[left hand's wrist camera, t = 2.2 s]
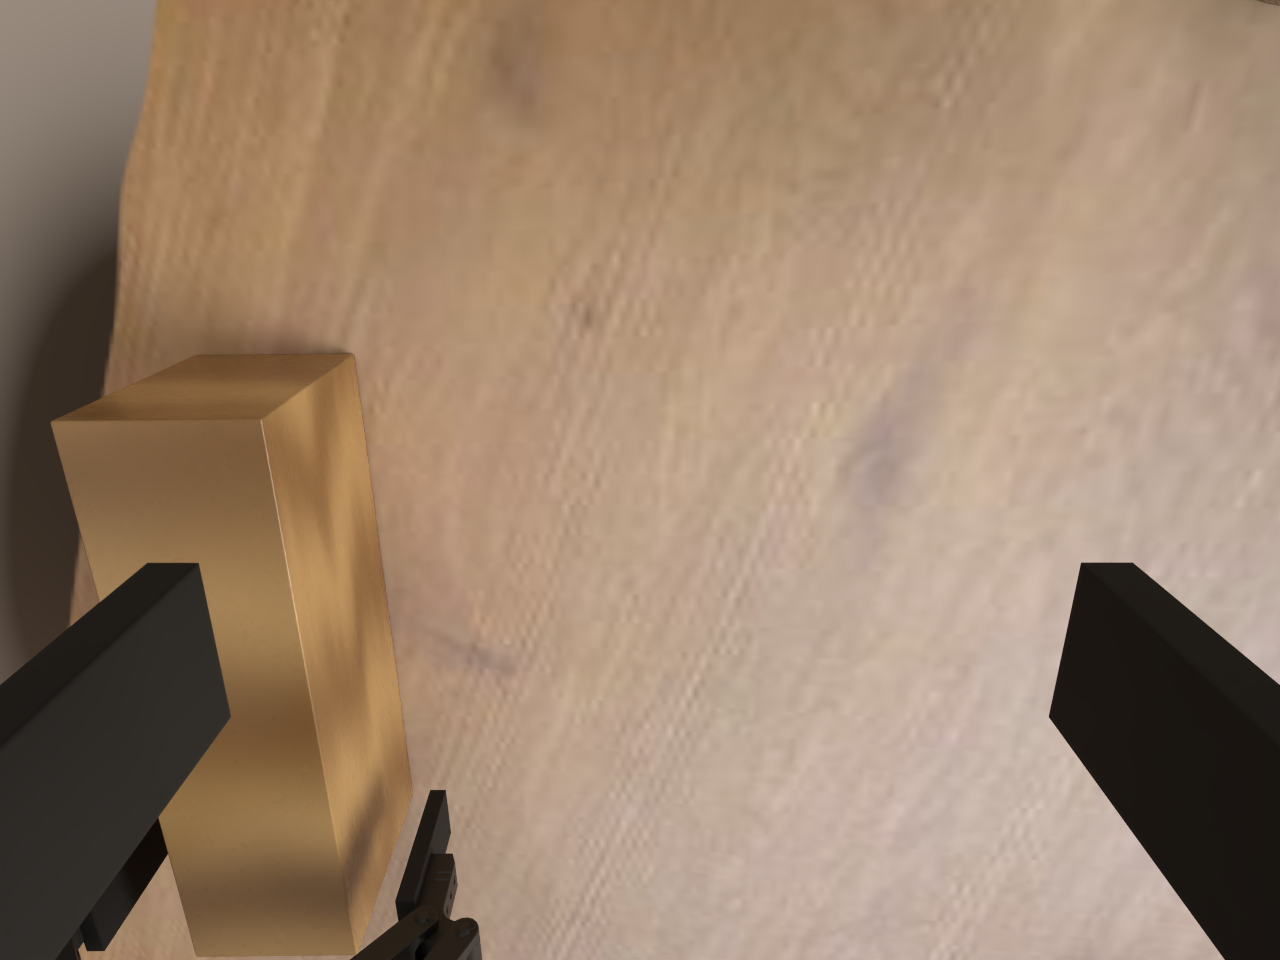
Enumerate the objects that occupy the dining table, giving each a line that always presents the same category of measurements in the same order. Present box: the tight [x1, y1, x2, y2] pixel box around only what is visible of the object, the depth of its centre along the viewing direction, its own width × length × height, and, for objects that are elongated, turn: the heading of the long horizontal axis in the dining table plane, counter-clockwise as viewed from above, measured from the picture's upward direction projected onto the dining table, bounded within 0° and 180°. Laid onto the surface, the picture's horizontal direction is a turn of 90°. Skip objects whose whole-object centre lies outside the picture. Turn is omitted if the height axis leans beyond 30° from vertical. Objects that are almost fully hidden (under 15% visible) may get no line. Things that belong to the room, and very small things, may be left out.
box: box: [51, 354, 413, 957], centre depth 39 cm, size 26×7×10 cm, turn 1°
